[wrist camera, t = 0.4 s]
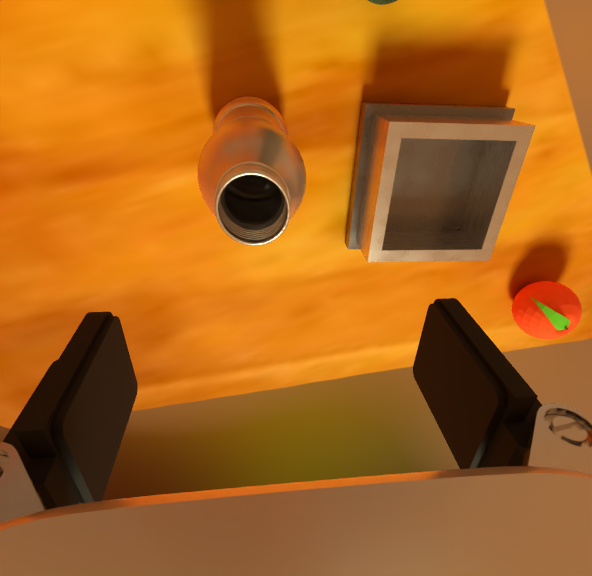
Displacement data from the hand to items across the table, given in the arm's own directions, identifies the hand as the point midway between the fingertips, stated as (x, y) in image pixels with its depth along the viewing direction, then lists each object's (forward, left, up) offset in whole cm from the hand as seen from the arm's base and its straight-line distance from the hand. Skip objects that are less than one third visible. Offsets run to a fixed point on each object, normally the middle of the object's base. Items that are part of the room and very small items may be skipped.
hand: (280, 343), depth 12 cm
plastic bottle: (-1, -1, -28) cm, 28 cm away
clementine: (+17, +33, -28) cm, 47 cm away
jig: (+3, +16, -28) cm, 33 cm away
